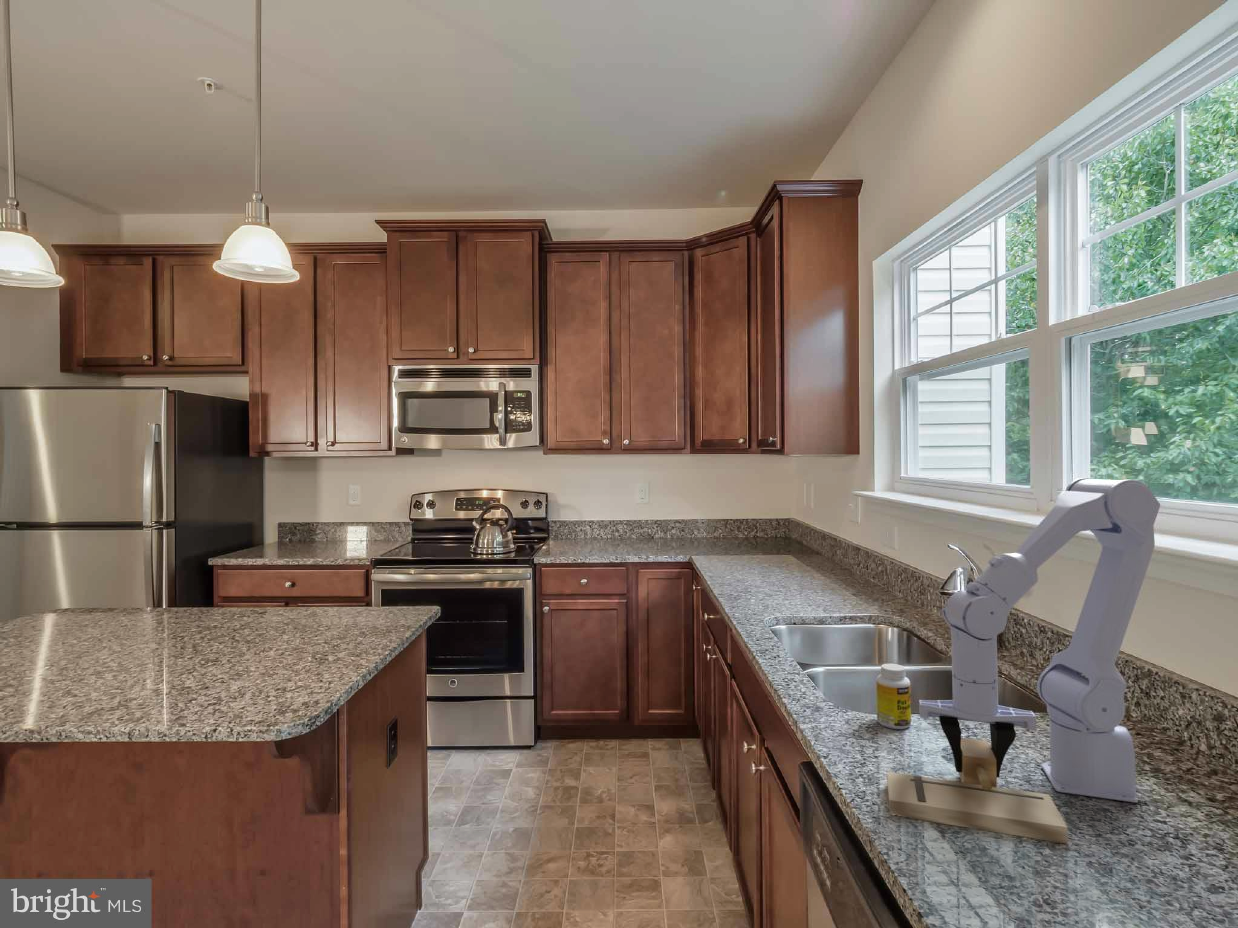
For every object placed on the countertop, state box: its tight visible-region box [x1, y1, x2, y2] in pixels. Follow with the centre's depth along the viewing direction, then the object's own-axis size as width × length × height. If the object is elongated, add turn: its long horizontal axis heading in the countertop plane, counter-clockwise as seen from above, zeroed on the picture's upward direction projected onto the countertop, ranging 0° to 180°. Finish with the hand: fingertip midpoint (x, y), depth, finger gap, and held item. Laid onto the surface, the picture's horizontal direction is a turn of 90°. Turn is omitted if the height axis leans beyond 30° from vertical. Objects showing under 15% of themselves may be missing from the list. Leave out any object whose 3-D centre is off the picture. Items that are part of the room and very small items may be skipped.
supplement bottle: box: [876, 663, 912, 730], centre depth 113 cm, size 6×6×10 cm
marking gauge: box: [958, 737, 998, 791], centre depth 88 cm, size 4×11×5 cm, turn 159°
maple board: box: [886, 771, 1069, 845], centre depth 84 cm, size 20×8×2 cm, turn 69°
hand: (976, 771), depth 91 cm, fingers closed on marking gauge, 4 cm apart
